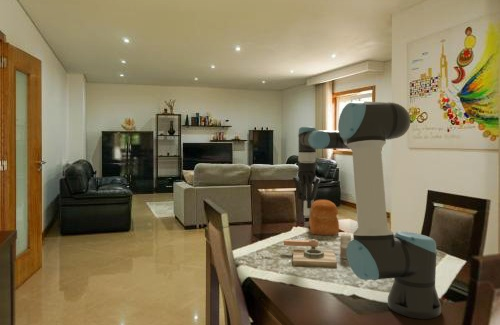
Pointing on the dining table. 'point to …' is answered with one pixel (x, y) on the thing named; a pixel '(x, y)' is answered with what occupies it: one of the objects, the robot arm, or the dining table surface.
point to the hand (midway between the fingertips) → (306, 215)
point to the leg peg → (344, 245)
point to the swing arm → (301, 243)
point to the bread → (324, 218)
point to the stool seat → (314, 257)
